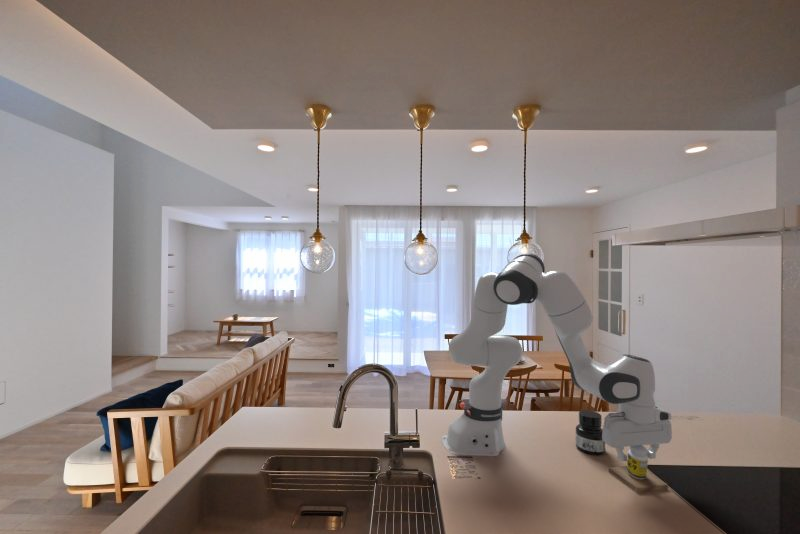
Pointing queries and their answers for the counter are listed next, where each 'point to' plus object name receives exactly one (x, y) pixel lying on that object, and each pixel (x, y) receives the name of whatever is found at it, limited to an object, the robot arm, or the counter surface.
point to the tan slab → (638, 480)
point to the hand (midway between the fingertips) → (636, 458)
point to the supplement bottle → (637, 462)
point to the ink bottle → (590, 433)
